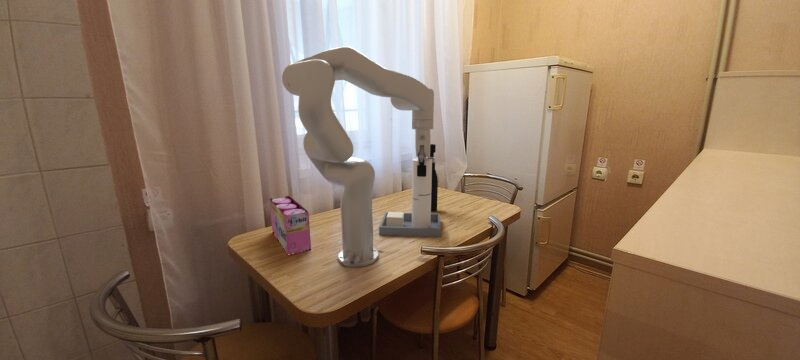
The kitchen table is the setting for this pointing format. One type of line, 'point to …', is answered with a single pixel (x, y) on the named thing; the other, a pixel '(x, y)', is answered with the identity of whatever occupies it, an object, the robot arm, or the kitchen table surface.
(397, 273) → the kitchen table surface
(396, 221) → the cream box
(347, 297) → the kitchen table surface
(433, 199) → the wine bottle
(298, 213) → the gum box
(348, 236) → the robot arm
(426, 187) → the cylindrical container
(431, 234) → the tray
